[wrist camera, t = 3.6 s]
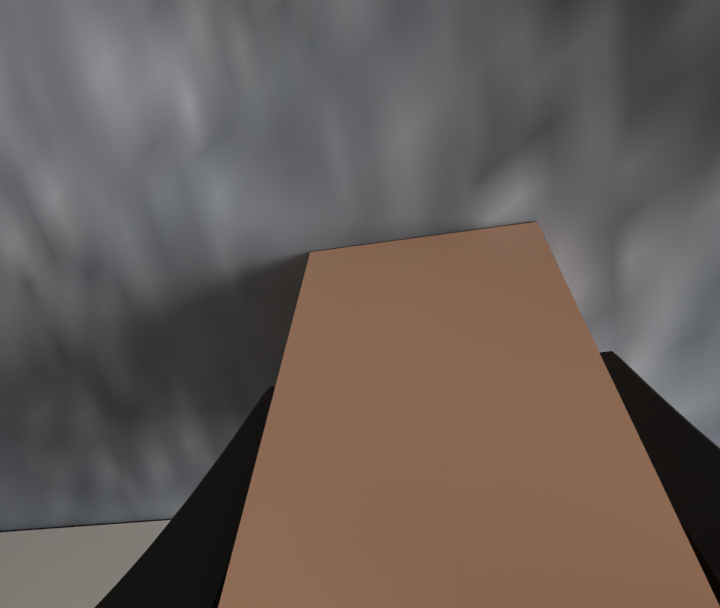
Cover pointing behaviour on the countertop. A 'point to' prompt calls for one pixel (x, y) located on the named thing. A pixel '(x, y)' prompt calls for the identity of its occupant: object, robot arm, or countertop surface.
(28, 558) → the socket plate
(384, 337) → the plug
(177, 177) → the countertop surface
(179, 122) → the countertop surface
